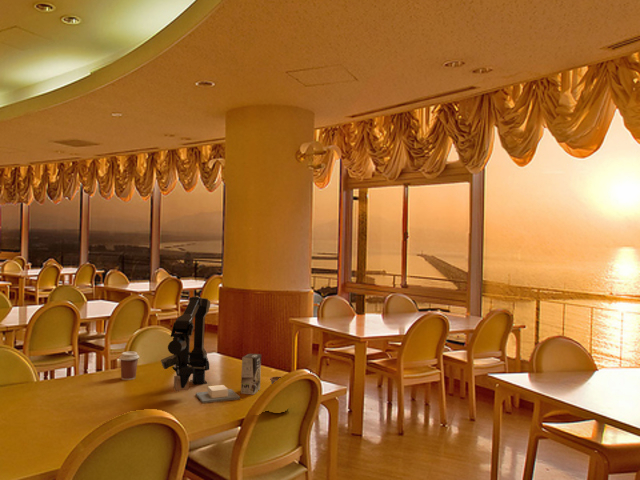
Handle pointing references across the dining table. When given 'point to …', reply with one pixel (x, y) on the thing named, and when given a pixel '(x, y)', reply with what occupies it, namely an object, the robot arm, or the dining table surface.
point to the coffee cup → (128, 365)
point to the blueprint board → (208, 399)
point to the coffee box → (251, 373)
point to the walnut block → (178, 384)
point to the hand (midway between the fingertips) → (181, 386)
